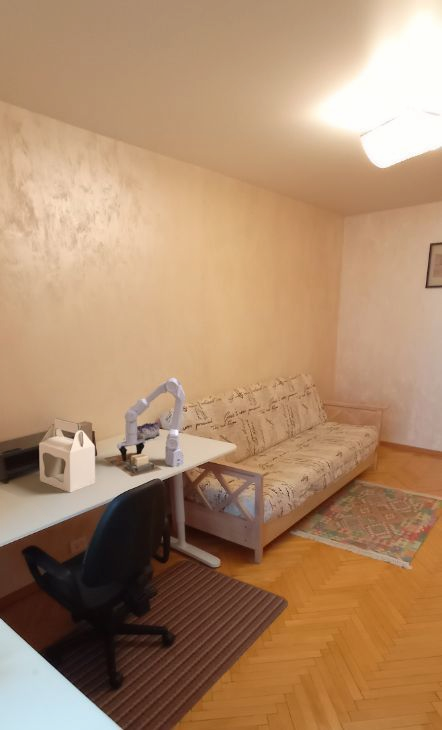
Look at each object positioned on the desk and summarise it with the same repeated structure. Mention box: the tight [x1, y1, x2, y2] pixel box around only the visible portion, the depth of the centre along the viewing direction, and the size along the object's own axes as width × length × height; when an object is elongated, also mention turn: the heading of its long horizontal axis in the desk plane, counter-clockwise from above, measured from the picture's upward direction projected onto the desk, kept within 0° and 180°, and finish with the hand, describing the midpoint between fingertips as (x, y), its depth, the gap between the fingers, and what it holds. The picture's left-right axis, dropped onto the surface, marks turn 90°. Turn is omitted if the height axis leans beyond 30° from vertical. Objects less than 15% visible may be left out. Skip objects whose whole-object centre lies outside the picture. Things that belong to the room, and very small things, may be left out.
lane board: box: [103, 452, 163, 478], centre depth 209 cm, size 32×16×4 cm, turn 39°
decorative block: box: [67, 421, 93, 443], centre depth 211 cm, size 11×6×20 cm, turn 147°
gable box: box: [38, 418, 96, 493], centre depth 185 cm, size 22×13×28 cm, turn 56°
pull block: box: [115, 451, 149, 467], centre depth 206 cm, size 16×12×6 cm
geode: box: [137, 422, 161, 441], centre depth 259 cm, size 20×12×10 cm, turn 146°
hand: (131, 459), depth 209 cm, fingers open, 7 cm apart
